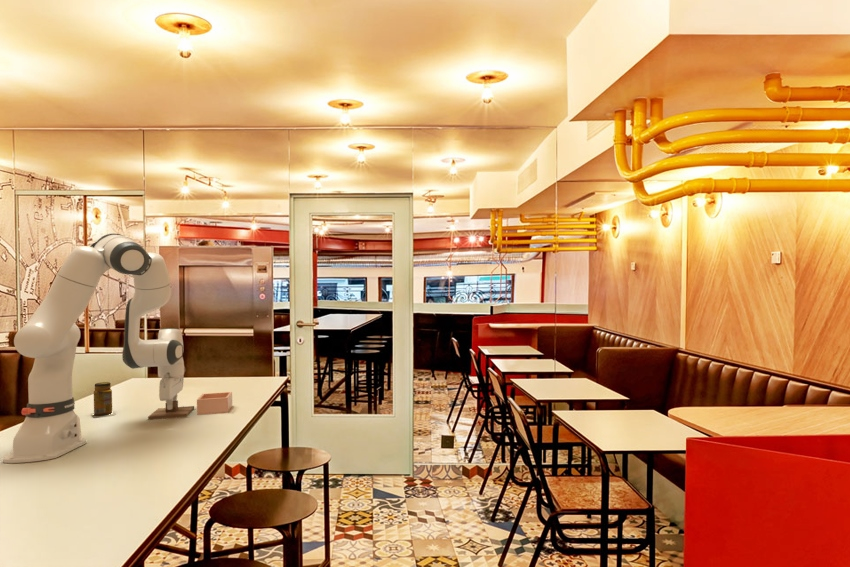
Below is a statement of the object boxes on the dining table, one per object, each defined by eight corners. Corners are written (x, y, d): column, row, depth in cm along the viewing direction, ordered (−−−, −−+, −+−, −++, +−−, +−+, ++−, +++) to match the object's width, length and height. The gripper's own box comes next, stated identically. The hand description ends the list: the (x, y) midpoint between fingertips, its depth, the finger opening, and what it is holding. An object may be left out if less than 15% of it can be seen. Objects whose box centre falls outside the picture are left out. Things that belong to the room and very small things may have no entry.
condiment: (112, 411, 209) (111, 380, 209) (116, 415, 202) (115, 383, 202) (90, 414, 204) (89, 383, 204) (93, 418, 198) (92, 386, 198)
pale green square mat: (187, 418, 194) (187, 417, 194) (146, 421, 191) (146, 420, 191) (196, 409, 208) (195, 408, 208) (157, 412, 205) (157, 411, 205)
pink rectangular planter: (228, 413, 200) (227, 397, 200) (197, 415, 198) (196, 399, 198) (232, 406, 211) (232, 391, 211) (203, 409, 209) (202, 393, 209)
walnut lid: (186, 417, 194) (186, 404, 194) (148, 419, 191) (147, 407, 191) (194, 409, 207) (193, 397, 207) (158, 411, 204) (157, 399, 204)
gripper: (173, 375, 190) (173, 413, 190) (186, 366, 210) (187, 401, 210) (153, 376, 188) (154, 414, 188) (169, 367, 208) (169, 402, 208)
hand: (171, 407), depth 199 cm, fingers closed on walnut lid, 3 cm apart
